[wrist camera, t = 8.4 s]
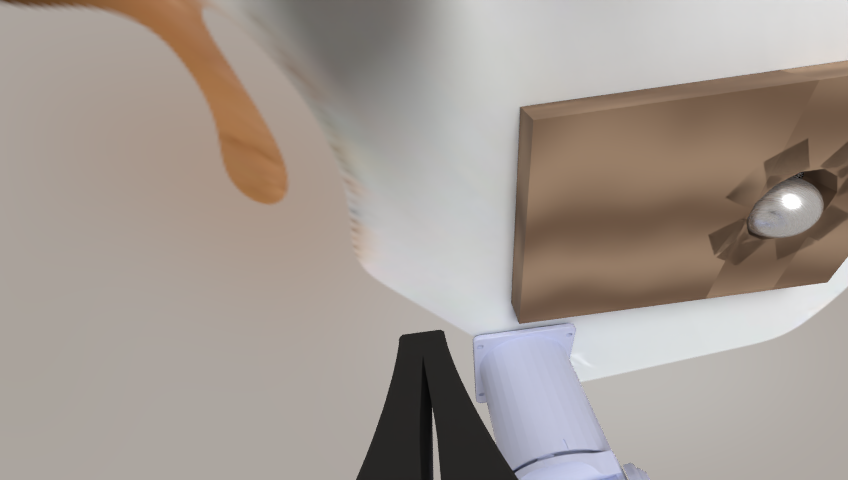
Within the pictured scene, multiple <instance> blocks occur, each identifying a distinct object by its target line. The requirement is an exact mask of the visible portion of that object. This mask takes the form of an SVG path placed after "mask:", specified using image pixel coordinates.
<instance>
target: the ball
mask: <svg viewBox="0 0 848 480" xmlns="http://www.w3.org/2000/svg"><path fill="white" fill-rule="evenodd" d="M823 206H824V203H823V198H822V196H821V194H820V192H819V191H818V189H817V188H816V187H815V186H813V185H812V184H810V183H809V182H807V181H805V180H803V179H800V178H796V177H790V178H788V179H786V180H784V181H782V182H780V183H778V184H776V185H775V186H774V187H773V188H772V189H770V190H769V191H768V192H767V193H766V194H765V195H764V196H763V197H762V198H761V199H759V200H758V201H757V202H756V203H755V205H754V207H753V209H752V211H751V213H750V215H749V217H748V218H747V220H746V223H747V228H748V230H749V231H751V232H753V233H755V234H757V235H760V236H764V237H770V238H784V237H790V236H794V235H797V234H800V233H802V232H804V231H806V230H808V229H809V228H811V227H812V226H813V225H814V224H815V223H816V222H817V221H818V220H819V218H820V216H821V214H822V212H823Z"/></svg>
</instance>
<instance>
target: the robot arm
mask: <svg viewBox="0 0 848 480" xmlns="http://www.w3.org/2000/svg"><path fill="white" fill-rule="evenodd" d="M575 332H576V328H575V326H574V324H571V323H568V324H560V325H553V326H545V327H538V328H531V329H523V330H516V331H508V332H501V333H494V334H486V335H479V336H476V337H474V339H473V353H474V370H475V391H476V401H477V402H479V403H485V402H487V405H488V409H489V414H490V418H491V423H492V427H493V431H494V436H495V440H496V444H495V442H494V441H493V439H492V437H491V436H490V434H489V432H488V430H487V429H486V427H485V425H484V423H483V422H482V420H481V418H480V416H479V414H478V413H477V411H476V409H475V407H474V405H473V403H472V401H471V399H470V397H469V395H468V393H467V391H466V389H465V387H464V385H463V383H462V381H461V379H460V377H459V374H458V372H457V370H456V368H455V365H454V363H453V360H452V357H451V354H450V352H449V349H448V346H447V342H446V338H445V334H444V331H442V330H435V331H428V332H420V333H413V334H405V335H402V336H401V337H400V339H399V347H398V353H397V359H396V363H395V368H394V372H393V376H392V380H391V384H390V387H389V391H388V394H387V398H386V401H385V404H384V408H383V411H382V414H381V417H380V420H379V422H378V425H377V428H376V431H375V434H374V437H373V439H372V442H371V445H370V447H369V450H368V452H367V455H366V458H365V460H364V462H363V465H362V467H361V469H360V472H359V474H358V476H357V479H356V480H433V438H432V437H433V436H432V408H433V413H434V418H435V425H436V431H437V439H438V451H439V462H440V472H441V480H627V477H626V476H625V473H624V471H623V469H622V468H621V466H620V464H619V462H618V460H617V458H616V456H615V455H614V453H613V451H612V450H611V448H610V446H609V444H608V441H607V439H606V437H605V435H604V433H603V431H602V429H601V426H600V424H599V422H598V420H597V418H596V416H595V413H594V411H593V409H592V407H591V405H590V403H589V400H588V398H587V396H586V394H585V392H584V390H583V388H582V385H581V383H580V381H579V379H578V377H577V375H576V372H575V370H574V368H573V366H572V364H571V362H570V360H569V359H570V355H571V350H572V346H573V341H574V337H575ZM623 467H624V469H625V471H626V474H627V476H628V478H629V480H650V478H649V476H648V475H647V473H646V472H645V471H643V470H641V469H640V468H636V467H635V465H634V464H632V463H628V464H625V465H623Z"/></svg>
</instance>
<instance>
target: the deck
mask: <svg viewBox="0 0 848 480" xmlns="http://www.w3.org/2000/svg"><path fill="white" fill-rule="evenodd" d="M800 172H803V174H804V176H803V177H802V179H803V180H805V181H807V182H809V183H810V184H812V185H813V186H815V187H816V188H817V189H818V191H819V192H820V194H821V196H822V198H823V203H824V206H823V212H822V214H821V216H820V218H819V220H818V221H817V222H816V223H815V224H814V225H813V226H812V227H811V228H809V229H808V230H806V231H804V232H802V233H800V234H797V235H794V236H790V237H784V238H770V237H764V236H760V235H757V234H755V233H753V232H751V231H749V230H748V228H747V223H746V220H747V218H748V217H749V215H750V213H751V211H752V209H753V207H754V205H755V203H756V202H757V201H758V200H759V199H761V198H762V197H763V196H764V195H765V194H766V193H767V192H768V191H769V190H770V189H772V188H773V187H774V186H775V185H776V184H778V183H780V182H782V181H784V180H786V179H788V178H790V177H792V176H794V175H796V174H798V173H800ZM847 257H848V61H841V62H834V63H827V64H820V65H813V66H806V67H799V68H792V69H785V70H778V71H771V72H764V73H757V74H750V75H742V76H735V77H728V78H721V79H714V80H707V81H700V82H693V83H686V84H679V85H672V86H665V87H658V88H651V89H644V90H637V91H630V92H623V93H615V94H608V95H601V96H594V97H587V98H580V99H573V100H566V101H559V102H552V103H545V104H538V105H531V106H524V107H520V129H519V150H518V172H517V193H516V214H515V236H514V257H513V279H512V300H511V303H512V305H513V308H514V311H515V313H516V316H517V319H518V322H519V324H522V323H529V322H537V321H544V320H551V319H559V318H566V317H574V316H581V315H588V314H596V313H603V312H611V311H618V310H625V309H633V308H640V307H648V306H655V305H663V304H670V303H677V302H685V301H692V300H700V299H707V298H714V297H722V296H729V295H737V294H744V293H751V292H759V291H766V290H774V289H781V288H789V287H796V286H803V285H811V284H818V283H826V282H828V281H829V280H830V278H831V277H832V276H833V275H834V273H835V272H836V271H837V269H838V268H839V267H840V266H841V264H842V263H843V262H844V261H845V259H846V258H847Z"/></svg>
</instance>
